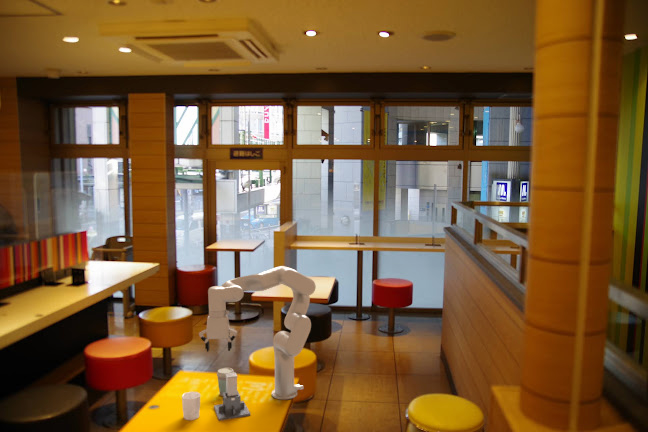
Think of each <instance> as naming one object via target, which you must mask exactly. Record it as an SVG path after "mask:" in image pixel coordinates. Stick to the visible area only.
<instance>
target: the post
mask: <svg viewBox="0 0 648 432" xmlns="http://www.w3.org/2000/svg"><path fill="white" fill-rule="evenodd" d="M225 375H226V397H227V398H229V397H235V396H237V391H238V374H237V373H236V372H234V373H227V374H225Z"/></svg>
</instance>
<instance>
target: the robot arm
mask: <svg viewBox="0 0 648 432" xmlns="http://www.w3.org/2000/svg"><path fill="white" fill-rule="evenodd" d="M280 285H284V286H285V287H288V288H290V289H291V292H292V297H293V298H292V301H291V305H290V307H289V308H288V311H287V312H286V313H287V314H286V316H285V318H284V322H283V324H284V326H285V328H286V329H288V330H289V331H290V332H289V331H286V330H280V331H278V332H277V333H275V334H274V336H273V339H272V346H273V347H272V348H273V352H274V389H273V390H272V391H271V396H272V397H273V398H274V399H277V400H291V399H294V398H295V397H297V396H298V390H304V385H300V384H299V383H298V384H295V357H297V356H298V355H299V354H300V353H301V352H302V350H303V348H304V346H305V344H306V342H307V339H308V337H309V334H310V333H311V330H312V329H311V328H312V322H311V319H310V318H309V316H307V315H306V314H307V312H308V309H309V306H310V301H311V299H310V298H311V297H310V296H311V295H313V294H314V293H315V291H316V283H315V280H313V279H312V278H310V277H308V276H306V275H305V274H302V273H300V272H298V271H297V270H296V269H293V268H291V267H288V266H285V265H280V266H276V267H272V268H270V269H268V270H264V271H262V272H259V273H256V274H254V273H253V274H250V275H242V276H239V277H235V278H232V279H230V280H227V281H225V282H223V283H222V284H221V286H220V285H215V286H211V287H209V288H208V290H207V294H208V297H207V298H208V316H207V319H206V329H203V330H202V331H199V332H198V335H199V337H200V339H201V341H202V342H203V343H204V344H205V350H206V353H208V352H209V351H210V341H209V340H223V339H224V340H225V339H226V340H227V352H231V349H232V348H233V343H232V342H233V341H234V340H235V338H236V337H237V335H238V330H235V329H233V328H230V326H231V325H230V321H229V314H230V310H227V309H226V308H227V307H226V303H234V302H235V303H236V302H239V301H241V300H242V299H243V298H244V295H245V294H244V293H245V292H264V291H267V290H270V289H272V288H274V287H278V286H280ZM204 334H206V336H205V335H204ZM231 334H233V335H232V336H231Z"/></svg>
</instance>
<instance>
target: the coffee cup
mask: <svg viewBox="0 0 648 432" xmlns="http://www.w3.org/2000/svg"><path fill="white" fill-rule="evenodd" d="M227 373H235V371H234V369H233V368H231V367H223V368H219V369H218V370H217V373H216V376H217V382H218V389H219V390H218V391H219V396H221V397H223V393H225V392H226V375H225V374H227Z"/></svg>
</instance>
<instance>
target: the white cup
mask: <svg viewBox="0 0 648 432" xmlns="http://www.w3.org/2000/svg"><path fill="white" fill-rule="evenodd" d="M181 400H182V401H181V402H182V412H183V413H182V414H183V419H184V420H187V421H194V420H196V419H198V418H199V417H200V407H201V393H200V392H198V391H189V392H184V393H183V394H182V396H181Z"/></svg>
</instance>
